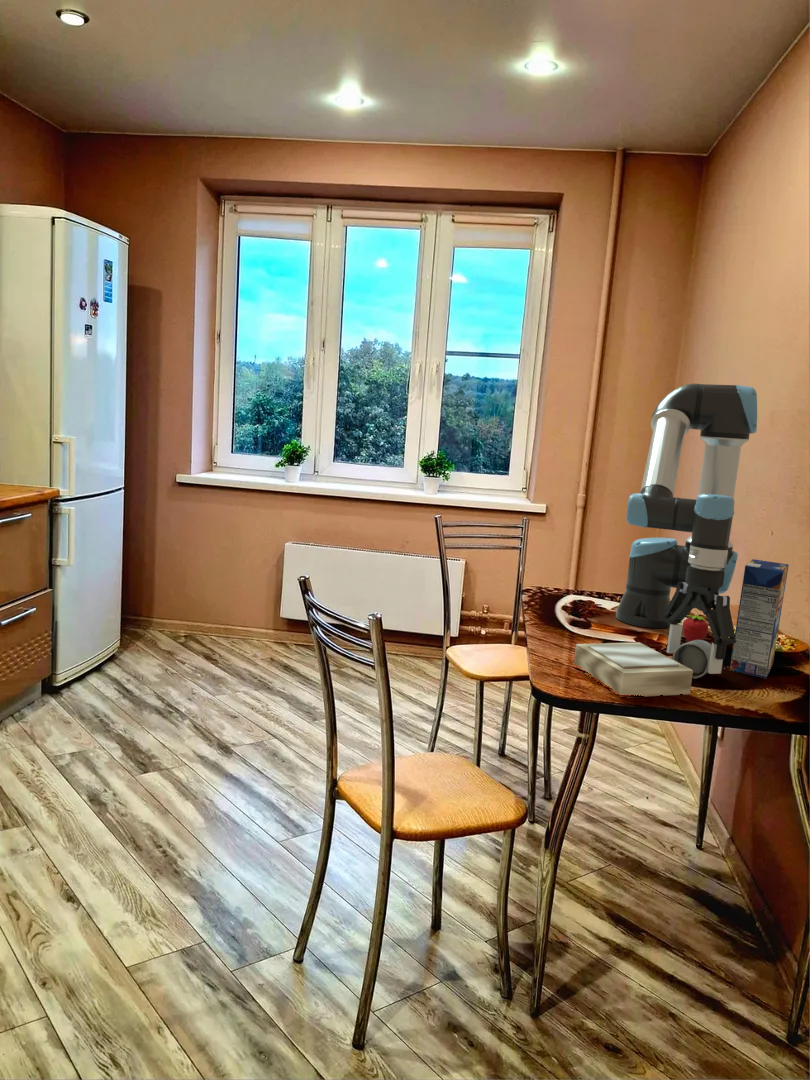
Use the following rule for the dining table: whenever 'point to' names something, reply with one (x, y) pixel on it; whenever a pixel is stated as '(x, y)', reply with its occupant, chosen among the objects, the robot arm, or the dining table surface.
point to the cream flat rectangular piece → (634, 669)
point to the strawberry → (695, 628)
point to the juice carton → (758, 617)
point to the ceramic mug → (694, 656)
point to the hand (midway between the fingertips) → (692, 662)
